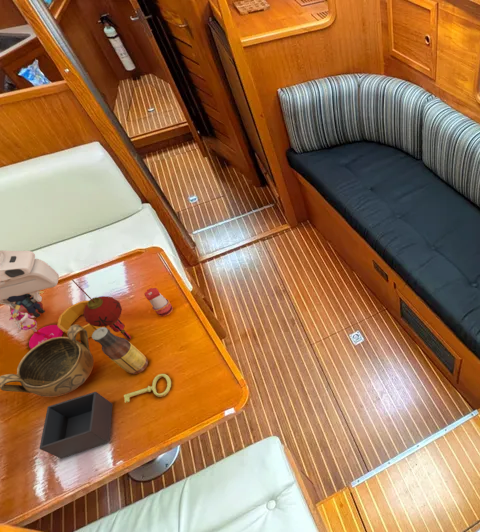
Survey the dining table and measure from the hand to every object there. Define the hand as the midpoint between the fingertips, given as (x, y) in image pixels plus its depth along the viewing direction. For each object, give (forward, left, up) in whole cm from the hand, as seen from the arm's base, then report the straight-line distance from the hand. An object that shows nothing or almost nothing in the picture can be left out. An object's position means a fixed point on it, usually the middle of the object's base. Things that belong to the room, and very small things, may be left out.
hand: (28, 303), depth 104 cm
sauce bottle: (+15, -11, -27) cm, 33 cm away
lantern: (+12, +1, -27) cm, 30 cm away
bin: (+3, -27, -27) cm, 38 cm away
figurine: (-13, +11, -27) cm, 32 cm away
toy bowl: (-1, +12, -27) cm, 30 cm away
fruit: (-18, +22, -27) cm, 40 cm away
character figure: (0, 0, -5) cm, 5 cm away
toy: (+23, +8, -27) cm, 37 cm away
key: (+19, -21, -27) cm, 39 cm away
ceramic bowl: (-3, -8, -27) cm, 29 cm away
